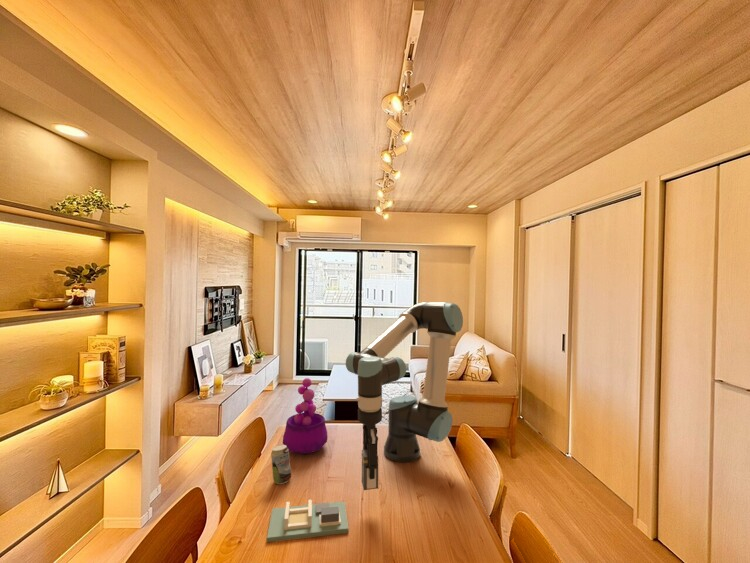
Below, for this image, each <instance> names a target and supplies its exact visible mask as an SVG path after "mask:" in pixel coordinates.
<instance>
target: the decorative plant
mask: <svg viewBox="0 0 750 563" xmlns="http://www.w3.org/2000/svg"><path fill="white" fill-rule="evenodd" d="M301 384H302V385H300V386H299V387H298V389H297V392H298V394H299V395H302V399H303V401H301V403H298V404H296V406H295V408H294V410H295V412H296V413H295V414H293V415H291V416H289V417H288V418H287V420H286V423H285V429H284V433H283V435H282V445H286V446H287V448H288V449H289V453H290V452H291V453H294V454H304V455H305V454H311V453H314V452H315V453H316V452H317V451H319V450H321V449H322V448H323V447H324V446H325V445H326V444H327V443H328V430H327V426H326V419H325V417H324V415H323V414H320V413H316V411H317V406H316V405H315V404H314V401H313V400H314V398H315V392H314V390H312V389H310V388H309V387H311V385H312V381H311V378H308V377H306V378H304V379H303V380H302V382H301Z"/></svg>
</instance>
